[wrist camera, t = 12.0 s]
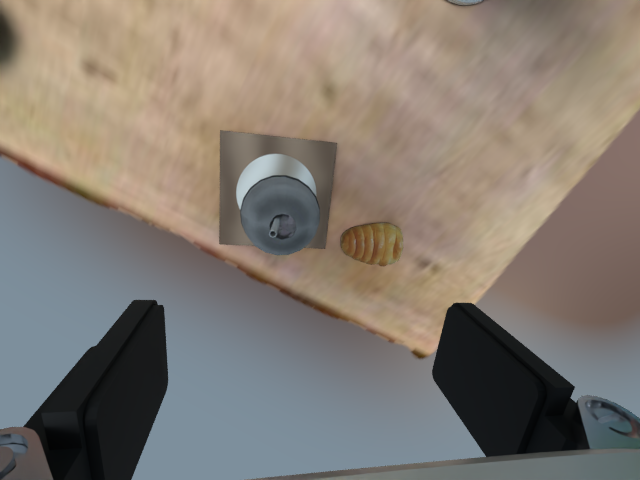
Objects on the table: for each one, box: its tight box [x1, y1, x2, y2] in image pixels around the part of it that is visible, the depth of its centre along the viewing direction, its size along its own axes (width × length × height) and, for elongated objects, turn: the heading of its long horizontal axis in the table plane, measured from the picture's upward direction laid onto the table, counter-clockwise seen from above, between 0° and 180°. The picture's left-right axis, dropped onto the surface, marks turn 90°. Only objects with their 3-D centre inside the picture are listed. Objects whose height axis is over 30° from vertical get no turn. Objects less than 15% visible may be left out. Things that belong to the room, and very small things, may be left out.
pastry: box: [341, 223, 403, 266], centre depth 48 cm, size 9×7×4 cm
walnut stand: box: [219, 130, 337, 249], centre depth 42 cm, size 14×14×5 cm
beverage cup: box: [240, 175, 320, 255], centre depth 30 cm, size 7×7×20 cm
